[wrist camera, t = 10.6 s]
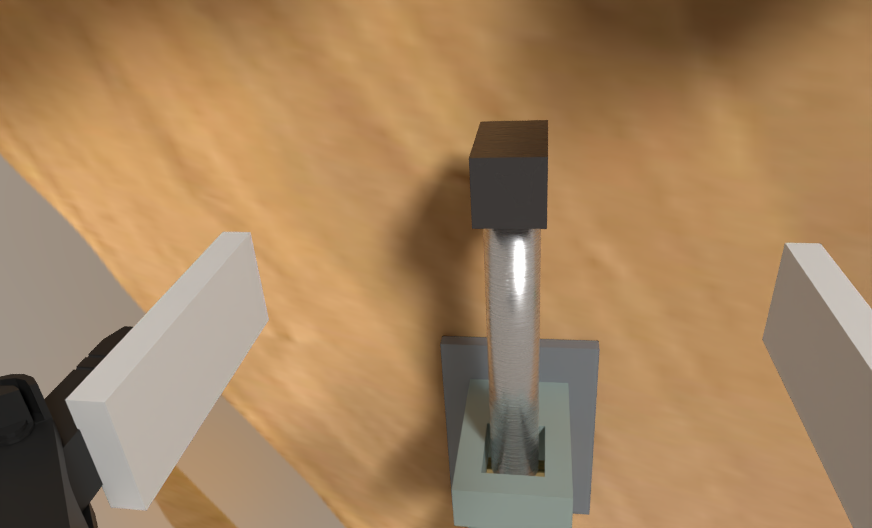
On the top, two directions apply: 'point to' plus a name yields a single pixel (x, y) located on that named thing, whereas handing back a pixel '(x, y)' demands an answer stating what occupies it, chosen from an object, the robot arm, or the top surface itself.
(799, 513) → the top surface
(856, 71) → the top surface
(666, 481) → the top surface
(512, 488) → the bearing stand
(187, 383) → the robot arm
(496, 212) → the shaft
